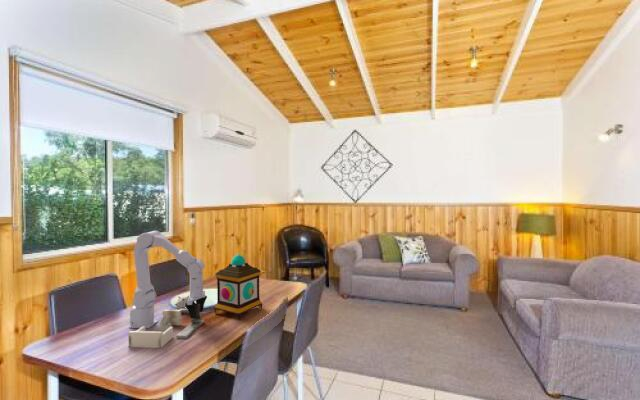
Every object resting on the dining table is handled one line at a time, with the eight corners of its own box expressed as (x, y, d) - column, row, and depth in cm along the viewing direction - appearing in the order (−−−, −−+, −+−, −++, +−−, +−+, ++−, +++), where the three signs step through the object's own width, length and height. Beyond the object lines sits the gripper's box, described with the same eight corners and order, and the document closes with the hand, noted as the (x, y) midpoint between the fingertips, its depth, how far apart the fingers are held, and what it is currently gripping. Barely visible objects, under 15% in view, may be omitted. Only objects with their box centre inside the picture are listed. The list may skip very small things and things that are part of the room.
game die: (185, 319, 162) (183, 308, 156) (171, 312, 163) (169, 301, 157) (196, 306, 169) (195, 295, 163) (183, 299, 170) (182, 288, 164)
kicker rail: (176, 338, 133) (176, 335, 133) (194, 322, 150) (194, 319, 150) (186, 338, 132) (186, 335, 132) (203, 322, 149) (203, 319, 149)
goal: (128, 347, 125) (128, 332, 125) (142, 336, 134) (142, 322, 134) (161, 347, 125) (160, 332, 124) (173, 337, 134) (172, 323, 134)
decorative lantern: (239, 322, 149) (238, 260, 149) (210, 314, 159) (209, 256, 158) (266, 309, 166) (265, 253, 166) (238, 302, 176) (238, 249, 176)
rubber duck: (162, 335, 135) (162, 317, 135) (154, 332, 139) (154, 314, 139) (174, 331, 140) (174, 313, 139) (166, 327, 143) (166, 310, 143)
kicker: (163, 325, 145) (162, 306, 145) (167, 321, 149) (167, 303, 149) (198, 325, 145) (198, 306, 144) (202, 322, 148) (202, 304, 148)
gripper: (197, 291, 139) (198, 321, 139) (210, 281, 154) (211, 309, 154) (182, 290, 140) (182, 320, 140) (196, 281, 154) (197, 309, 154)
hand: (196, 314), depth 147 cm, fingers open, 7 cm apart
